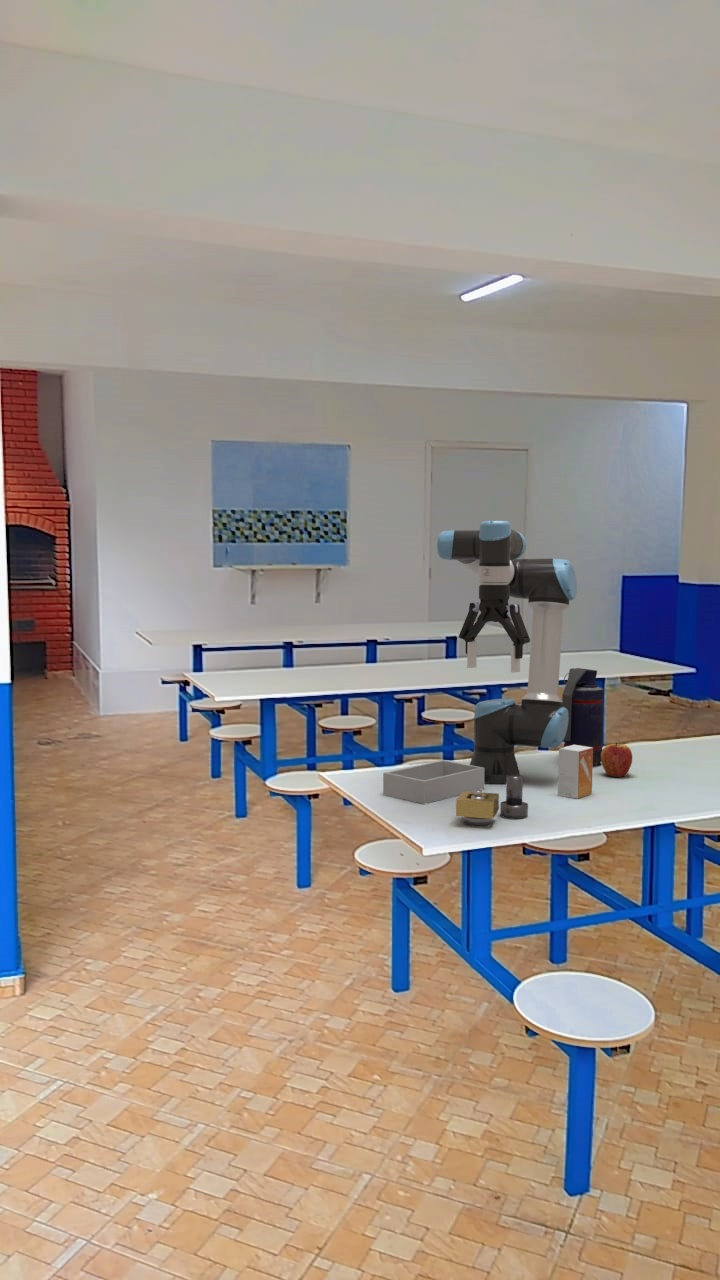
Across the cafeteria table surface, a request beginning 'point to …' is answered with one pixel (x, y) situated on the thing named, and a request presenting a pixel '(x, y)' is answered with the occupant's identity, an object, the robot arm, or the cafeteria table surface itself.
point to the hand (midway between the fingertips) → (493, 669)
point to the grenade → (584, 711)
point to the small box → (575, 771)
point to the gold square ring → (477, 805)
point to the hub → (473, 820)
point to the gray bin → (433, 781)
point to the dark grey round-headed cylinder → (514, 799)
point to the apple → (616, 759)
